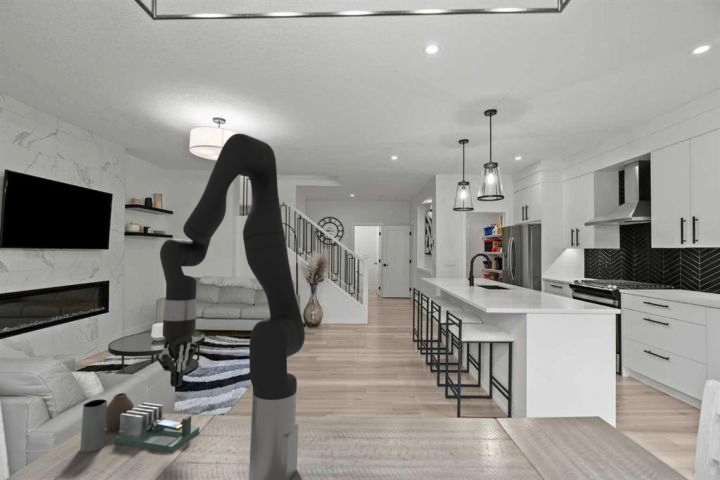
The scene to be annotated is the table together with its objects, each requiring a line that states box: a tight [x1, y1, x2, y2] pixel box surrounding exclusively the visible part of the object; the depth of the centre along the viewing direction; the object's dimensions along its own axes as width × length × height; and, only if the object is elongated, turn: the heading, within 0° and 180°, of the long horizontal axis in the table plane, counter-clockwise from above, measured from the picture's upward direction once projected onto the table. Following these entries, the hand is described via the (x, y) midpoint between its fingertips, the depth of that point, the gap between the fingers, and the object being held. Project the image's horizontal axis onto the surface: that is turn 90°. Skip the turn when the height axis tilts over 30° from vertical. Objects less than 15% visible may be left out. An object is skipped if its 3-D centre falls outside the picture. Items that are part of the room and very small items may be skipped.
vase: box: [105, 392, 135, 433], centre depth 93 cm, size 7×7×9 cm
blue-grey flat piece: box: [152, 416, 182, 431], centre depth 90 cm, size 7×3×1 cm, turn 78°
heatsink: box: [117, 402, 165, 439], centre depth 90 cm, size 8×8×5 cm
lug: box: [179, 415, 192, 436], centre depth 89 cm, size 2×2×4 cm
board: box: [113, 425, 201, 453], centre depth 89 cm, size 16×10×1 cm, turn 79°
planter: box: [80, 398, 108, 453], centre depth 84 cm, size 4×4×10 cm
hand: (176, 385), depth 90 cm, fingers closed
